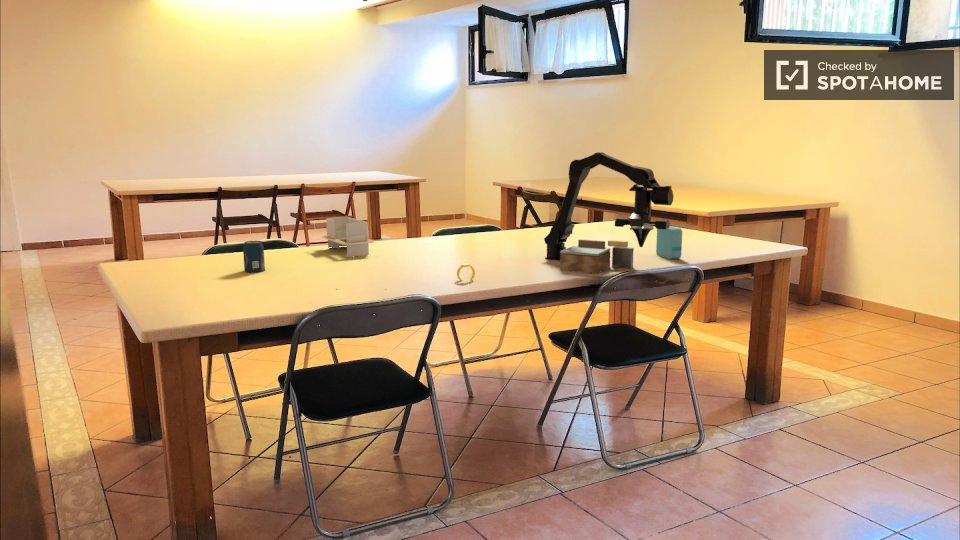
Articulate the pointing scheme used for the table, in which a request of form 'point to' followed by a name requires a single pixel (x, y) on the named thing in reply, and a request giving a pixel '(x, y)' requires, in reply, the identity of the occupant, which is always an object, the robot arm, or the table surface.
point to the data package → (669, 242)
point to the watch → (465, 266)
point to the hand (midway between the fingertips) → (641, 246)
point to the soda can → (253, 257)
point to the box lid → (587, 248)
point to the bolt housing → (622, 257)
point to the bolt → (617, 243)
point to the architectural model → (348, 235)
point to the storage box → (585, 263)
